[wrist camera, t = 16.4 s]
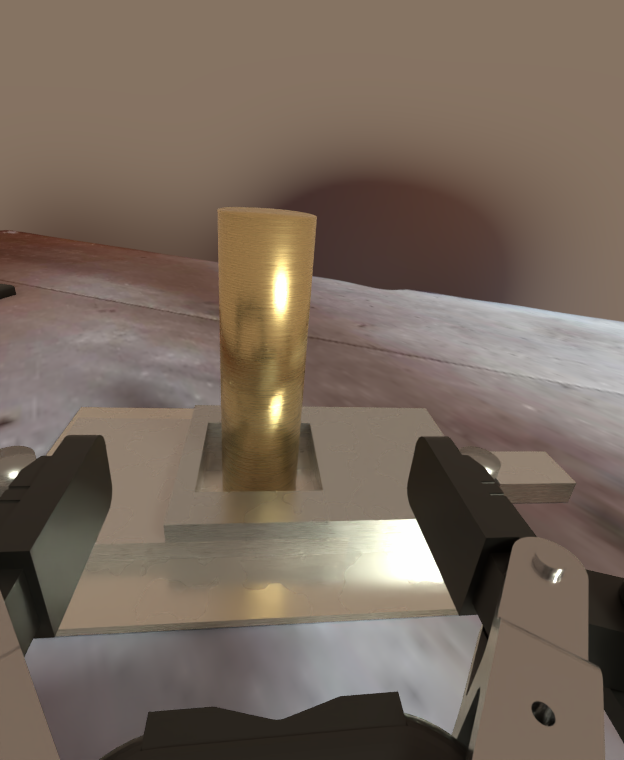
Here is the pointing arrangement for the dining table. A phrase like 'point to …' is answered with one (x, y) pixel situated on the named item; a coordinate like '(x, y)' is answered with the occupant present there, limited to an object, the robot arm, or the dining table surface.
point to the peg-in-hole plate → (266, 523)
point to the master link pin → (263, 343)
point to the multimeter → (6, 290)
